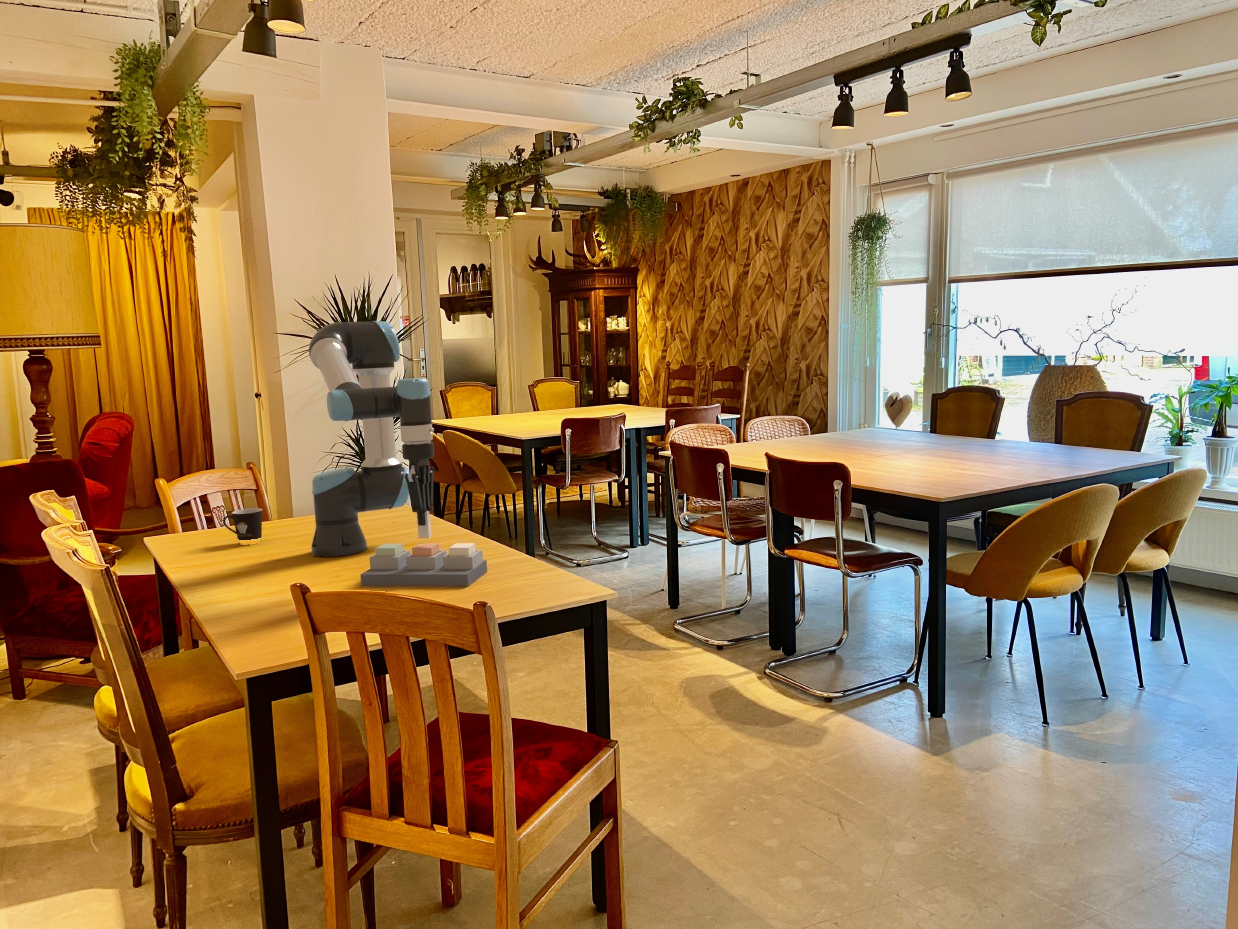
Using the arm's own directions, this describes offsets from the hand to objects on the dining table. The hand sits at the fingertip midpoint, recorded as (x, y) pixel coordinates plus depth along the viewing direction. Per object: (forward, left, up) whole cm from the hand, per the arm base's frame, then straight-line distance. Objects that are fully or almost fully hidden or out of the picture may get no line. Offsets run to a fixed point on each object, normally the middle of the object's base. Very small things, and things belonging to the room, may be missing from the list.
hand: (425, 537), depth 218 cm
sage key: (-10, 0, -5) cm, 11 cm away
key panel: (0, -1, -10) cm, 10 cm away
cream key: (+9, 0, -5) cm, 11 cm away
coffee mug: (-76, +41, -10) cm, 86 cm away
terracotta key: (0, 0, -5) cm, 5 cm away
